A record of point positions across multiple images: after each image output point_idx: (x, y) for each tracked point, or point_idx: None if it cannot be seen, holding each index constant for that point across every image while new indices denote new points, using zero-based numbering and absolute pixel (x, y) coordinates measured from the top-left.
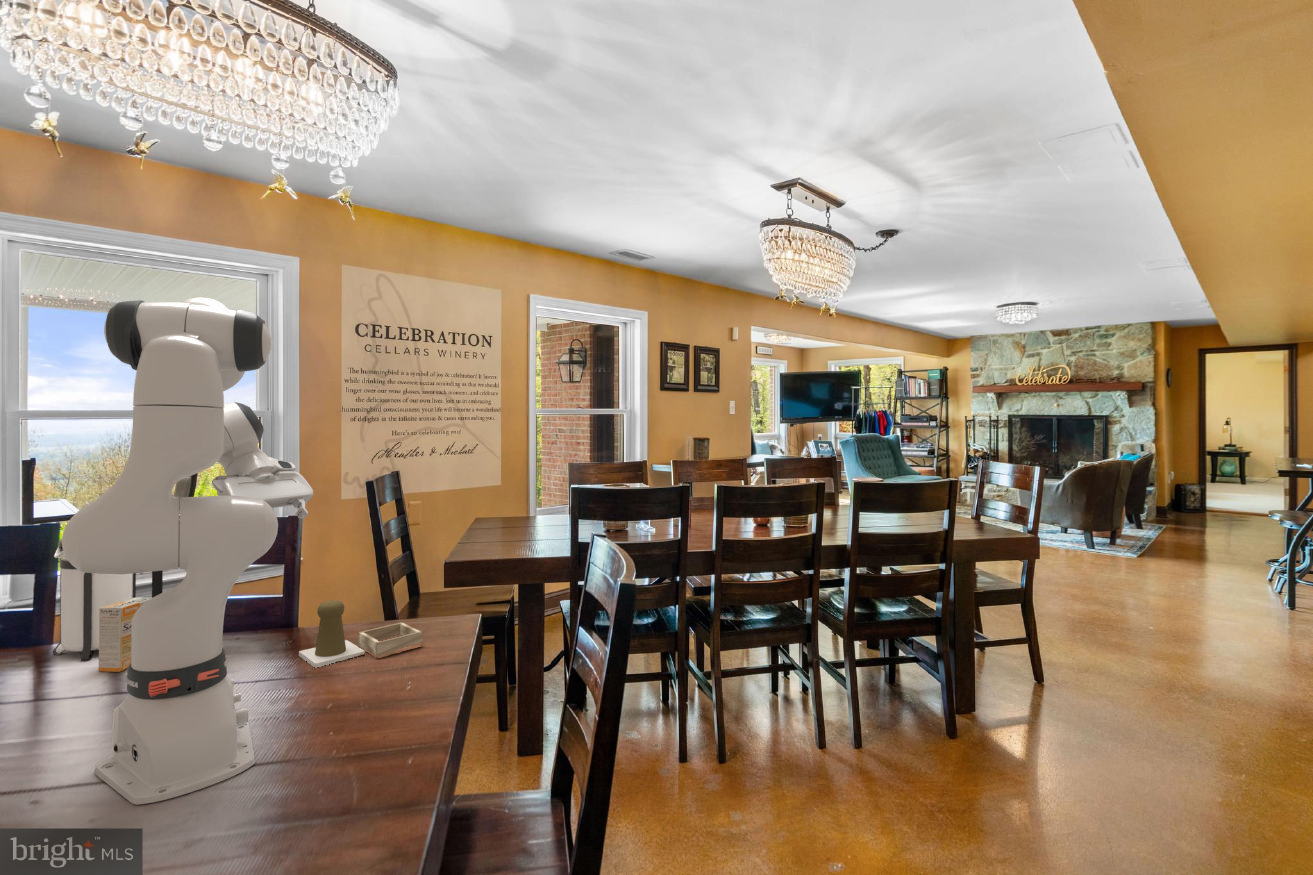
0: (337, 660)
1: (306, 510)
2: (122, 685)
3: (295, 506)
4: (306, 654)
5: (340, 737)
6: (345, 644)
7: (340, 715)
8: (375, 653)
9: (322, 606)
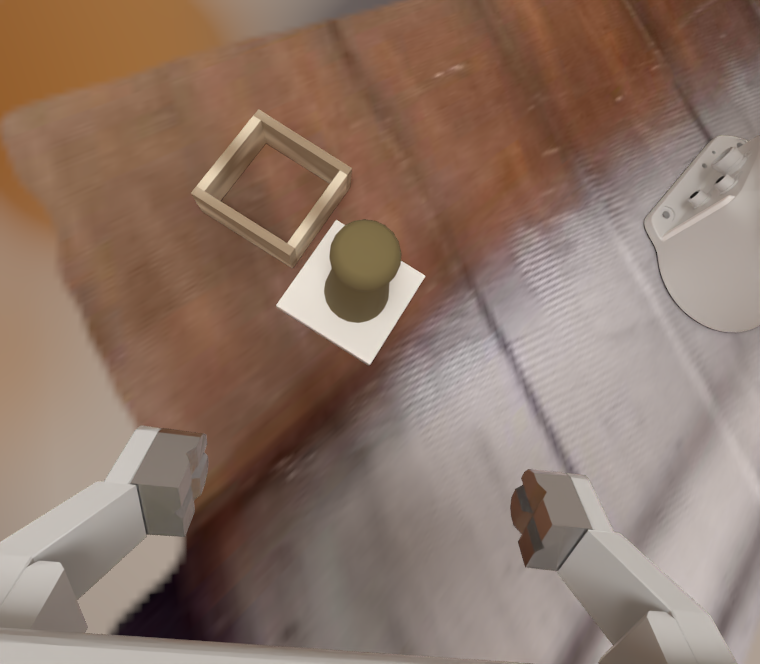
0: None
1: (131, 446)
2: None
3: (81, 623)
4: (383, 332)
5: (625, 80)
6: (306, 288)
7: (573, 116)
8: (345, 190)
9: (397, 255)
